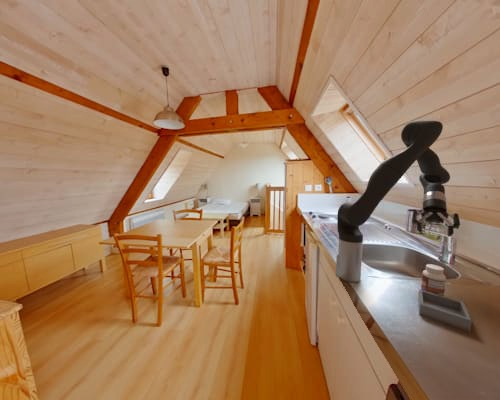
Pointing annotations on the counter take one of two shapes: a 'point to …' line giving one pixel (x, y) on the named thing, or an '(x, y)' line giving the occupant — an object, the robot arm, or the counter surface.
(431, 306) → the charcoal bin
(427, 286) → the pill bottle
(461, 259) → the counter surface
